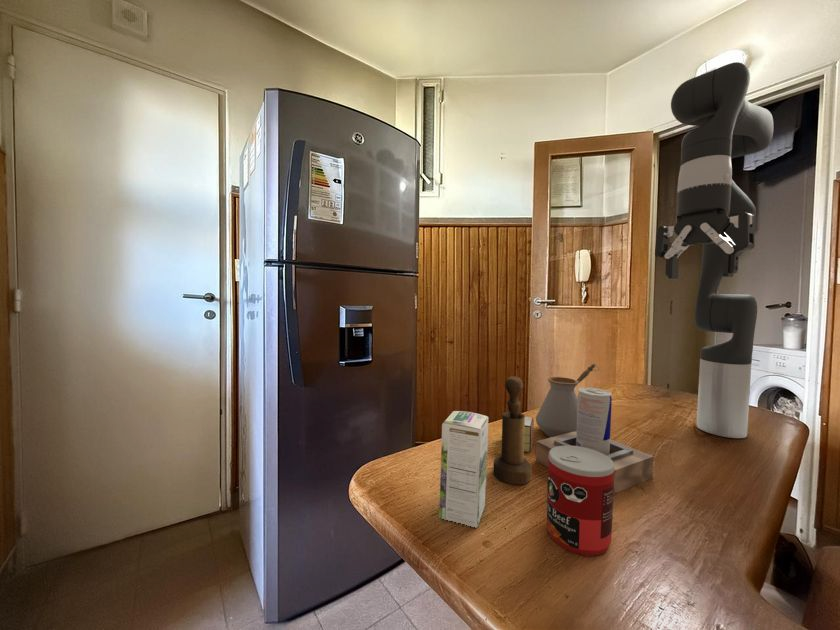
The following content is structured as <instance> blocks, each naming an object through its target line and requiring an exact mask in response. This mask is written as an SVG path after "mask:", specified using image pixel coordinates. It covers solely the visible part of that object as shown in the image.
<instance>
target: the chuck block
mask: <svg viewBox="0 0 840 630" xmlns="http://www.w3.org/2000/svg"><path fill="white" fill-rule="evenodd" d="M576 436H577V431H574V432H570V433H566V434H562V435H558V436H555V437H548V438H543V439H540V440H536V443H535V444H536V450H535V453H536V454H535V462H537V463H538V464H541V465H542V466H544V467H545V468H547V469H548V456H549V451H550V450H551V449H552V448H554V447H557V446H566V445H570V446H576ZM606 456H607V457H609V458H610V459H611V460H612V461H613V463H614V493H613V495H616V494H618V493H619V492H622V491H624V490H627V489H629V488H632V487H634V486H637V485H639V484H641V483H644V482H647V481H649V480H652V479H653V474H654V455H652V454H649V453H647V452H643V451H641V450H639V449H636V448H633V447H631V446H628V445H626V444H623V443H621V442H618V441H616V440H613V439H611V438H610V454H609V455H606Z"/></svg>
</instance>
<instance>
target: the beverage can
mask: <svg viewBox="0 0 840 630" xmlns="http://www.w3.org/2000/svg"><path fill="white" fill-rule="evenodd" d="M577 390H578V394H577V399H578V407H577V436H576V446H580V447H585V448H589V449H592V450H595V451H598V452H600V453H602V454H604V455H609V454H610V439H611V427H612V426H611V425H612V424H611V422H612V404H613V403H612V399H613V398H612V392H610V391H609V390H606V389H603V388H596V387H580V388H578V389H577Z"/></svg>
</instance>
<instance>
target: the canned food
mask: <svg viewBox="0 0 840 630" xmlns="http://www.w3.org/2000/svg"><path fill="white" fill-rule="evenodd" d="M546 485H547V487H546V488H547V489H546V491H547V492H546V494H547V495H546V520H545V521H546V522H545V523H546V528H547V532H548V534H549V536H550V538H551V539H552V540H553V541H554V542H555V543H556V544H558V545H559V546H560V547H562V548H564V550H566V551H568V552H571V553H574V554H577V555H583V556H587V557H588V556H590V557H592V556H599V555H602V554H605V553H606V552H607V551H608V550H609V548H610V545H611V542H612V531H613V510H614V507H613V506H614V494H613V493H614V463H613V461H612V460H611V459H610V458H609V457H607V456H606V455H604V454H602V453H600V452H598V451H595V450H592V449H589V448H585V447H580V446H570V445H566V446H557V447H554V448H552V449H551V450H550V451H549V456H548V468H547V484H546Z"/></svg>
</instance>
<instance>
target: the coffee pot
mask: <svg viewBox="0 0 840 630" xmlns="http://www.w3.org/2000/svg"><path fill="white" fill-rule="evenodd" d="M595 367H597V368H598V369H597V370H595V369H594V368H595ZM599 369H600V366H598V365H597V364H595V363H593V364H591V365H590V366H588V367H587V369H586V370H583V372H582V373H581V375H579V377H578V378H577V379H573V378H570V377H562V376H552V377H548V379H547V381H548V382H549V385H550V388H549V391H548V392H547V394H546V397H544V400H543V402H542V405H540V408H539V411H538V412H537V413H536V417H535V422H536V425H537V426H538V427H539V429H540V430H541V431H542V432H543V433H544V434H545V435H546V436H548V438H551V437H555V436H558V435H562V434H566V433H570V432H574V431H577V407H578V395H577V394H576V391H575V388H576V387H577V385H579V384H580V383H581V382H582V381H584V379H586V378H587V377H588V376H589V374H590V372H593V371H594V372H599Z"/></svg>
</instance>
